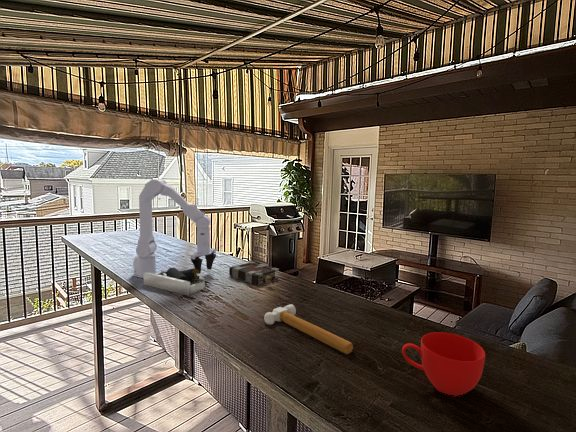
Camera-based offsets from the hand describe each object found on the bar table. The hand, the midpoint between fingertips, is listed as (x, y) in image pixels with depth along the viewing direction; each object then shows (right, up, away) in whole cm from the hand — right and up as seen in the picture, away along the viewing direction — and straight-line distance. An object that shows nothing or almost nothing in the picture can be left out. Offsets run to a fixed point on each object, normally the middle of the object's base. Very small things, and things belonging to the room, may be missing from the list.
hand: (203, 271), depth 154 cm
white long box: (-8, -4, -15) cm, 17 cm away
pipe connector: (-6, -3, -9) cm, 11 cm away
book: (+26, -3, -3) cm, 26 cm away
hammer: (+45, -11, -54) cm, 71 cm away
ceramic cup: (+73, -14, -77) cm, 107 cm away
